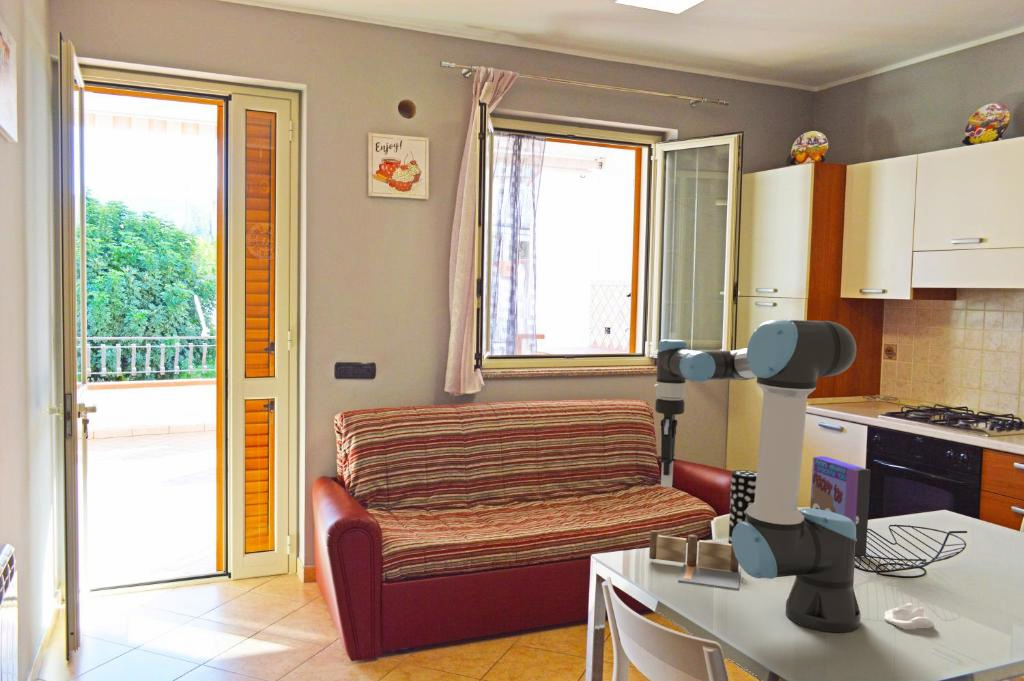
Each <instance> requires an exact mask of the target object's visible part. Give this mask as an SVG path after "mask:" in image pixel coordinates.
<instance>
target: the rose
mask: <svg viewBox="0 0 1024 681" xmlns="http://www.w3.org/2000/svg"><path fill="white" fill-rule="evenodd" d="M924 611H925V610H924V609H923V607H922V606H920V607H918V606H917V605H914V604H913V603H911V602H907V603H905V605H900V606H899V605H898V606H897V607H894V608H891V609H889V610H886V611H885V612H884V615H883V616H884V617H883V619H884V622H886V623H888V622H889V624H891V625H893V624H894V626H895V625H896V626H895V627H897V626H898V627H897V628H899V627H900V628H899V629H901V628H903V629H902V630H917V629H916V628H927V629H931V627H932V628H933V626H934V624H935V623H934V621H932V620H931V619H930V618H929V617H928V616H927V615H926V614H925V612H924ZM913 628H914V629H913Z"/></svg>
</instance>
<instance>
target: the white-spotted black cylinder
mask: <svg viewBox="0 0 1024 681" xmlns="http://www.w3.org/2000/svg"><path fill="white" fill-rule="evenodd" d="M756 477H757V471H753V470H744V469H742V470H741V469H738V470H732V471H731V478H730V479H731V480H730V498H729V499H730V501H729V503H730V504H729V520H728V521H729V522H728V524H729V525H728V544H731V541H732V533H733V529H734V527H736V525H737V524H738V523H740V522H743V521H745V519H746V509H747V508H748V507H749V506H750V505H752V504H753V503H754V501H755V489H756Z"/></svg>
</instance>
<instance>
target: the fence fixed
mask: <svg viewBox="0 0 1024 681" xmlns="http://www.w3.org/2000/svg"><path fill="white" fill-rule="evenodd" d="M698 539H699V537H698V535H696V534H688V535H687V548H686V562H687V565H688V566H691V567H695V566H696V564H698V567H704V568H712V569H719V570H727V571H732V572H738V569H740V568H739V566H740V564H739V563H738V560H737V558H736V556H735V553H734V550H733V545H732V541H731V544H729V543H725V542H719V541H718V542H717V541H716V542H715V541H709V540H701V539H699V540H698Z"/></svg>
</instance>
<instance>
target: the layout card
mask: <svg viewBox="0 0 1024 681" xmlns="http://www.w3.org/2000/svg"><path fill="white" fill-rule="evenodd" d="M741 570H742V568H741V569H740V568H739V569H738V572H732V571H727V570H719V569H712V568H704V567H698V563H697V564H696V566H695V567H691V566H688V565H687V561H686V562H685V563H683V564H682V568H681V571H680V574H679V576H678V581H677V582H678V583H684V584H691V585H700V586H707V587H712V588H713V587H714V588H720V589H728V590H734V591H739V588H740V587H739V586H740V579H741Z"/></svg>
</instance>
